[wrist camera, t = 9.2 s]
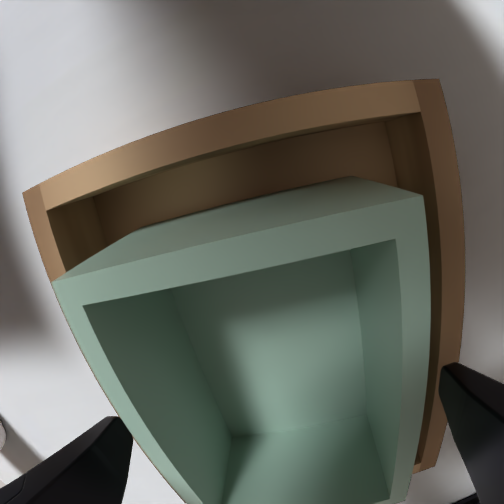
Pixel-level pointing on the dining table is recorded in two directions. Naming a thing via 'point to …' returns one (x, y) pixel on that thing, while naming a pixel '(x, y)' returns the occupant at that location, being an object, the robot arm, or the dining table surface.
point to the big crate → (278, 188)
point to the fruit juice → (2, 435)
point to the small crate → (268, 343)
